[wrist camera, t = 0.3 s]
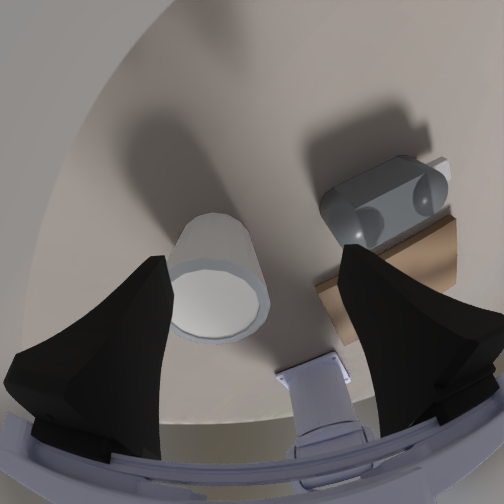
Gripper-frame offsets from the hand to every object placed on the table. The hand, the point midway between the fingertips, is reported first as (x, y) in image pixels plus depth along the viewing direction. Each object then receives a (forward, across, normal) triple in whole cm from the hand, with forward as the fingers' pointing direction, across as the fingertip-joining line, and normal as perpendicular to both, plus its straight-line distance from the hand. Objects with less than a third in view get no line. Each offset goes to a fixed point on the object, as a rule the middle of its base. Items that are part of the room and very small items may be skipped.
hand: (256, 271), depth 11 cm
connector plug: (+10, -10, 0) cm, 14 cm away
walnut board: (+10, -15, +10) cm, 20 cm away
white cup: (+10, +2, +4) cm, 11 cm away
